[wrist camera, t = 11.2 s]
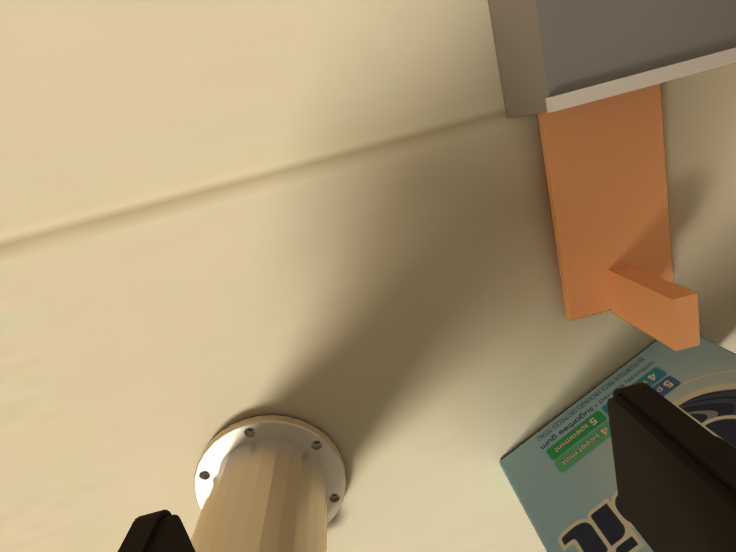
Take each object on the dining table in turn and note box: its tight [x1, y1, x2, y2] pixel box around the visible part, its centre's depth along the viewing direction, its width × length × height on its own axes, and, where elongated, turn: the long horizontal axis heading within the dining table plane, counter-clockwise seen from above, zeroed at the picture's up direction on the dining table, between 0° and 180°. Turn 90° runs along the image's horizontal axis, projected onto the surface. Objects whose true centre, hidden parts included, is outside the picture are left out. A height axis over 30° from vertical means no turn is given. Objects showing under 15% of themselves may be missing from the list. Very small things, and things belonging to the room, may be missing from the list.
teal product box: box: [499, 336, 736, 552], centre depth 30 cm, size 20×5×23 cm, turn 131°
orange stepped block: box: [538, 84, 700, 351], centre depth 31 cm, size 16×8×8 cm, turn 14°
